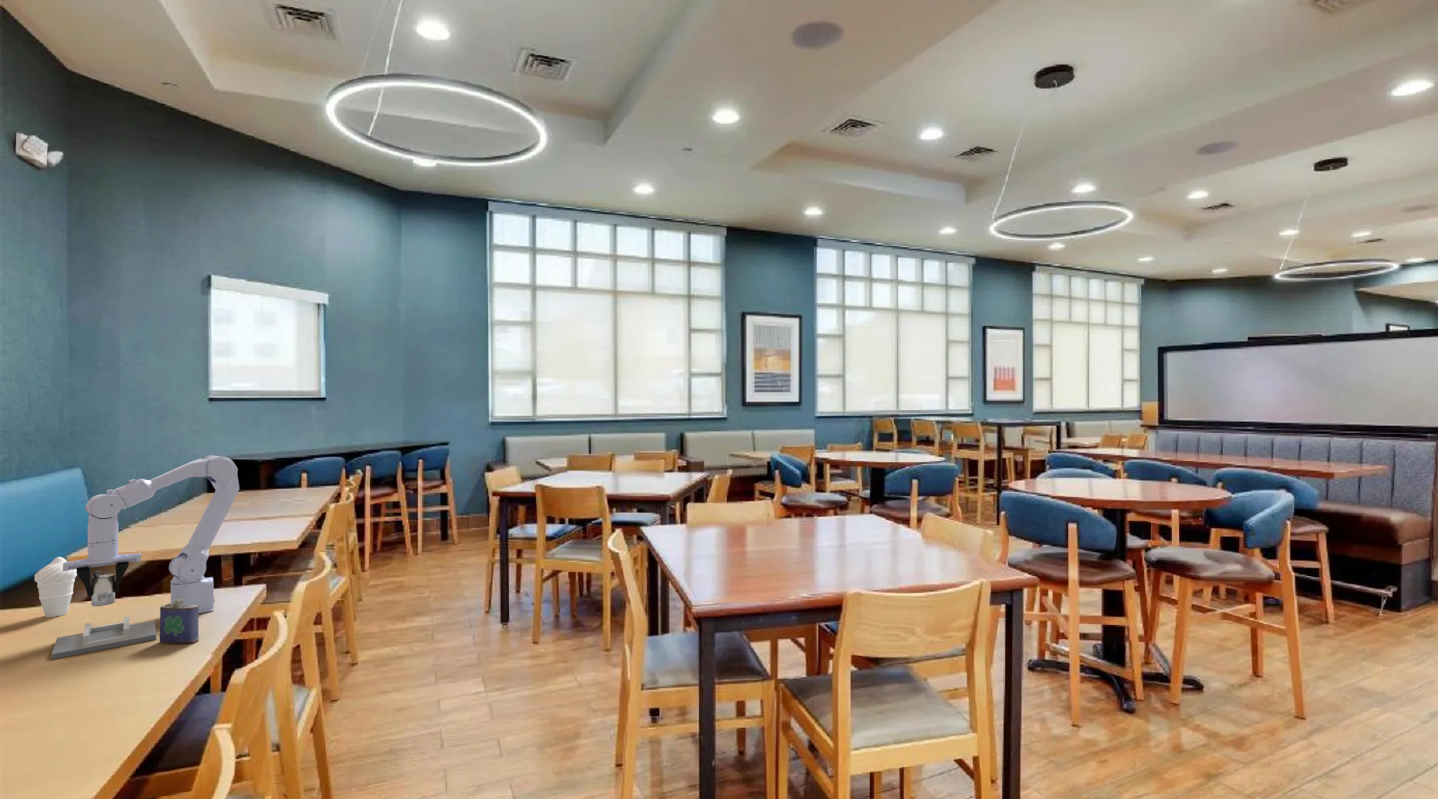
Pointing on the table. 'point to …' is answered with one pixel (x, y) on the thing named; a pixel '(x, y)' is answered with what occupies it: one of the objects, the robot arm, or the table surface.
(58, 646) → the grey framed base plate
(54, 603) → the soft serve ice cream cone
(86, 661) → the table surface
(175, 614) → the flask
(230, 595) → the table surface
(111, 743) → the table surface
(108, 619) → the table surface
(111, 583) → the spout can
